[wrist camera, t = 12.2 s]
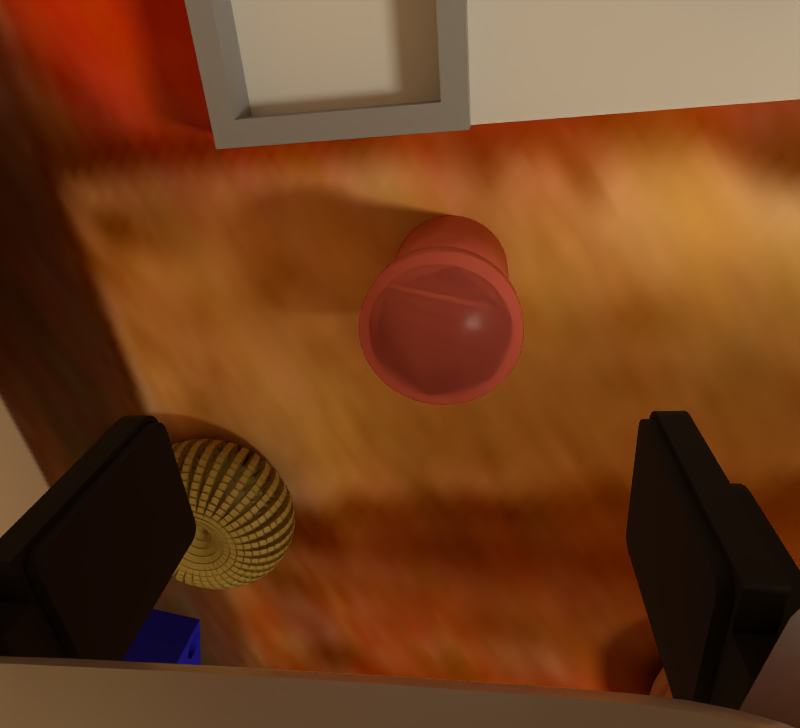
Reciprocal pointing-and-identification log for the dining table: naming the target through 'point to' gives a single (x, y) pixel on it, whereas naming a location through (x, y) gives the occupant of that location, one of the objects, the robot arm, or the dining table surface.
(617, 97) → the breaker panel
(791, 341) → the dining table surface
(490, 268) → the cap
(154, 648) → the blue pipe cradle
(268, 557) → the sculpture
